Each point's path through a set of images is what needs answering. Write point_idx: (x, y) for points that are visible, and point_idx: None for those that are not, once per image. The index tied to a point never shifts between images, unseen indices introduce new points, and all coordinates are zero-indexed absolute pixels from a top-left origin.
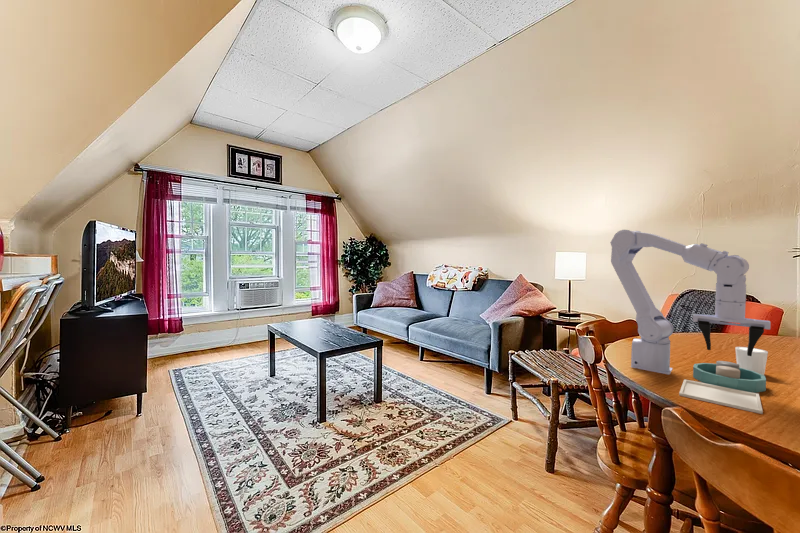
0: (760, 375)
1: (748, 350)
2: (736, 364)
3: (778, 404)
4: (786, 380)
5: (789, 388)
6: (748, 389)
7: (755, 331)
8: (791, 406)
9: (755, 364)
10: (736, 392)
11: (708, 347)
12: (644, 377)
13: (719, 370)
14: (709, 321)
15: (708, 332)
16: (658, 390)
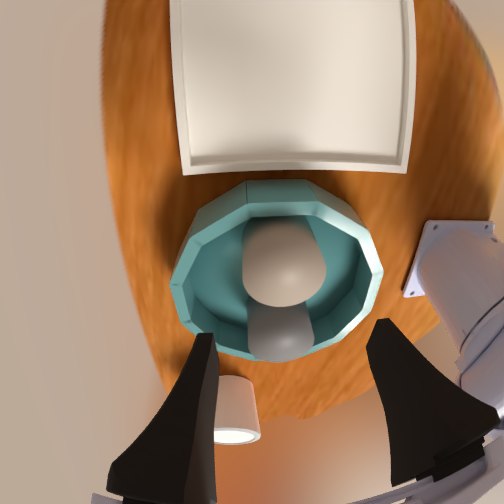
0: (191, 320)
1: (206, 356)
2: (256, 349)
3: (136, 155)
4: (169, 375)
5: (150, 332)
6: (214, 206)
7: (146, 486)
8: (110, 168)
9: (219, 399)
10: (249, 158)
11: (391, 327)
12: (480, 156)
13: (314, 246)
14: (432, 484)
15: (439, 402)
16: (452, 36)
